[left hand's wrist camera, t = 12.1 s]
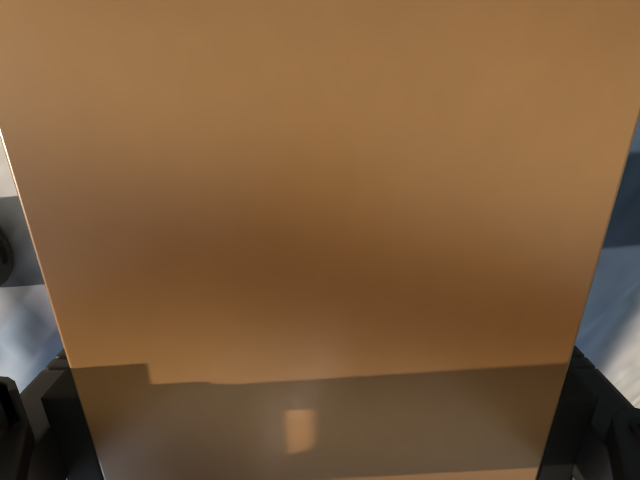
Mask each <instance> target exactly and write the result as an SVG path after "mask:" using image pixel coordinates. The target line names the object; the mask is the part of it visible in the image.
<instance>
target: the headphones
mask: <svg viewBox="0 0 640 480" xmlns="http://www.w3.org/2000/svg"><path fill="white" fill-rule="evenodd" d="M12 266H13V258H12V254H11V249H10V247H9V245H8V243H7V241H6V239H5V237H4V236H3V235H2V233H1V232H0V286H1V285H2V284H3V283H4V282H5V281H6V280H7V279H8V277H9V275H10V274H11V270H12Z"/></svg>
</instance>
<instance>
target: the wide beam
mask: <svg viewBox="0 0 640 480" xmlns="http://www.w3.org/2000/svg"><path fill="white" fill-rule="evenodd" d="M639 116H640V0H0V137H1V141H2V144H3V147H4V151H5V154H6V157H7V161H8V164H9V167H10V170H11V174H12V177H13V180H14V184H15V187H16V190H17V194H18V197H19V200H20V204H21V207H22V210H23V213H24V217H25V220H26V223H27V227H28V230H29V233H30V237H31V240H32V243H33V247H34V250H35V253H36V256H37V260H38V263H39V266H40V270H41V273H42V276H43V280H44V283H45V286H46V290H47V293H48V296H49V300H50V303H51V306H52V309H53V313H54V316H55V319H56V323H57V326H58V329H59V333H60V336H61V339H62V343H63V346H64V349H65V352H66V356H67V359H68V362H69V366H70V369H71V372H72V376H73V379H74V382H75V386H76V389H77V392H78V395H79V399H80V402H81V405H82V409H83V412H84V415H85V419H86V422H87V425H88V429H89V432H90V435H91V438H92V442H93V445H94V448H95V452H96V455H97V458H98V462H99V465H100V468H101V472H102V475H103V478H104V480H536V479H537V476H538V472H539V469H540V465H541V461H542V458H543V454H544V451H545V447H546V444H547V440H548V437H549V433H550V430H551V426H552V423H553V419H554V416H555V412H556V409H557V405H558V402H559V398H560V395H561V391H562V388H563V384H564V380H565V377H566V373H567V370H568V366H569V363H570V359H571V356H572V352H573V349H574V345H575V342H576V338H577V335H578V331H579V328H580V324H581V321H582V317H583V314H584V310H585V306H586V303H587V299H588V296H589V292H590V289H591V285H592V282H593V278H594V275H595V271H596V268H597V264H598V261H599V257H600V254H601V250H602V247H603V243H604V240H605V236H606V233H607V229H608V225H609V222H610V218H611V215H612V211H613V208H614V204H615V201H616V197H617V194H618V190H619V187H620V183H621V180H622V176H623V173H624V169H625V166H626V162H627V159H628V155H629V151H630V148H631V144H632V141H633V137H634V134H635V130H636V127H637V123H638V120H639Z"/></svg>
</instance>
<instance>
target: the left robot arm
mask: <svg viewBox="0 0 640 480" xmlns="http://www.w3.org/2000/svg"><path fill="white" fill-rule="evenodd" d="M573 477H574V478H575V480H640V409H638V408H635V407H634V406H633V405H632V404H631V403H630V402H629V401H628V400H627V399H626V398H625V397H624V396H623V395H622V394H621V393H620V392H619V391H618V390H617V389H616V388H615V387H614V386H613V385H612V383H611V382H610V381H609V380H608V379H607V378H606V377H605V376H604V375H603V374H602V373H601V372H600V371H599V370H598V369H595V366H594V365H593V364H592V363H591V362H590V361H589V359H588V358H585V357H584V354H583V353H582V352H581V351H580V350H579V349H578V348H577V347H576V346H575V345H574V349H573V352H572V356H571V359H570V363H569V366H568V370H567V373H566V377H565V380H564V384H563V388H562V391H561V395H560V398H559V402H558V405H557V409H556V412H555V416H554V419H553V423H552V426H551V430H550V433H549V437H548V440H547V444H546V447H545V451H544V454H543V458H542V461H541V465H540V469H539V472H538V476H537V479H536V480H572V478H573ZM66 478H67V479H68V480H104V478H103V475H102V472H101V468H100V465H99V462H98V458H97V455H96V452H95V448H94V445H93V442H92V438H91V435H90V432H89V429H88V425H87V422H86V419H85V415H84V412H83V409H82V405H81V402H80V399H79V395H78V392H77V389H76V386H75V382H74V379H73V376H72V372H71V369H70V366H69V362H68V359H67V356H66V352H65V349H64V348H63V349H62V350H61V351H60V353H59V354H58V355H57V356H56V359H53V360H52V361H51V362H50V363H49V364H48V365H47V366H46V367H45V370H42V371H41V372H40V374H39V375H38V376H37V377H36V378H35V379H34V380H33V381H32V382H31V383H30V384H29V385H28V386H27V387H26V388H25V389H24V390H23V391H22V392H21V393H20V394H19V391H18V389H17V386H16V383H15V381H13V380H12V379H10V378H9V377H1V376H0V480H66Z"/></svg>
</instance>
